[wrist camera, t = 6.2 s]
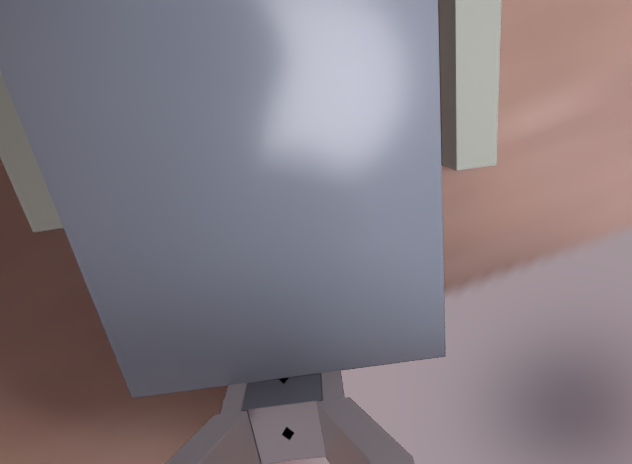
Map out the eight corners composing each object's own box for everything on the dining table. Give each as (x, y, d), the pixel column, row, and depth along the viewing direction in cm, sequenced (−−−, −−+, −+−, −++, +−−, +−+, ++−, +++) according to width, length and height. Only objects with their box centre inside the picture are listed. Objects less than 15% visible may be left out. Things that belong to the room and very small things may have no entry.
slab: (60, -22, 8) (-64, -87, 6) (390, -74, 8) (434, -168, 5) (173, 328, 12) (131, 398, 9) (411, 296, 12) (445, 356, 9)
